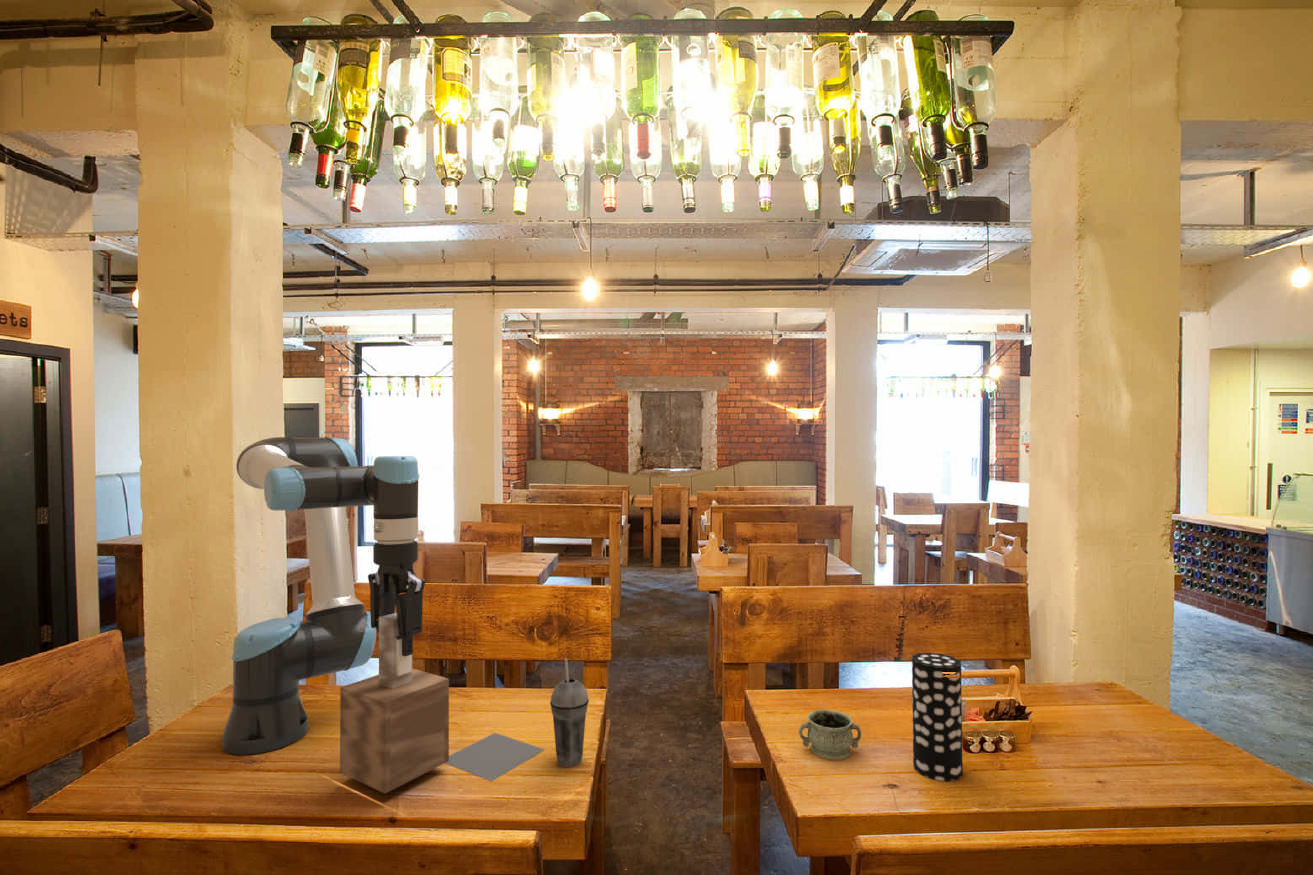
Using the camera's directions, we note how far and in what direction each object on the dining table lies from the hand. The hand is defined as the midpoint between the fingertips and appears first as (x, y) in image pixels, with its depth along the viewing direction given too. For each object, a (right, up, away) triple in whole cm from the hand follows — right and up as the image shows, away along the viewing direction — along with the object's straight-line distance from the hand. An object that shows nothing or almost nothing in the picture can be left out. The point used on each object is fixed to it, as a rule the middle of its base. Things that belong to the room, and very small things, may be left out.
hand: (395, 670), depth 115 cm
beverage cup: (+31, -19, +5) cm, 37 cm away
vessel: (+81, -19, +10) cm, 84 cm away
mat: (+16, -19, +8) cm, 26 cm away
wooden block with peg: (0, -17, 0) cm, 17 cm away
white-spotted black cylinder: (+99, -19, +2) cm, 101 cm away
